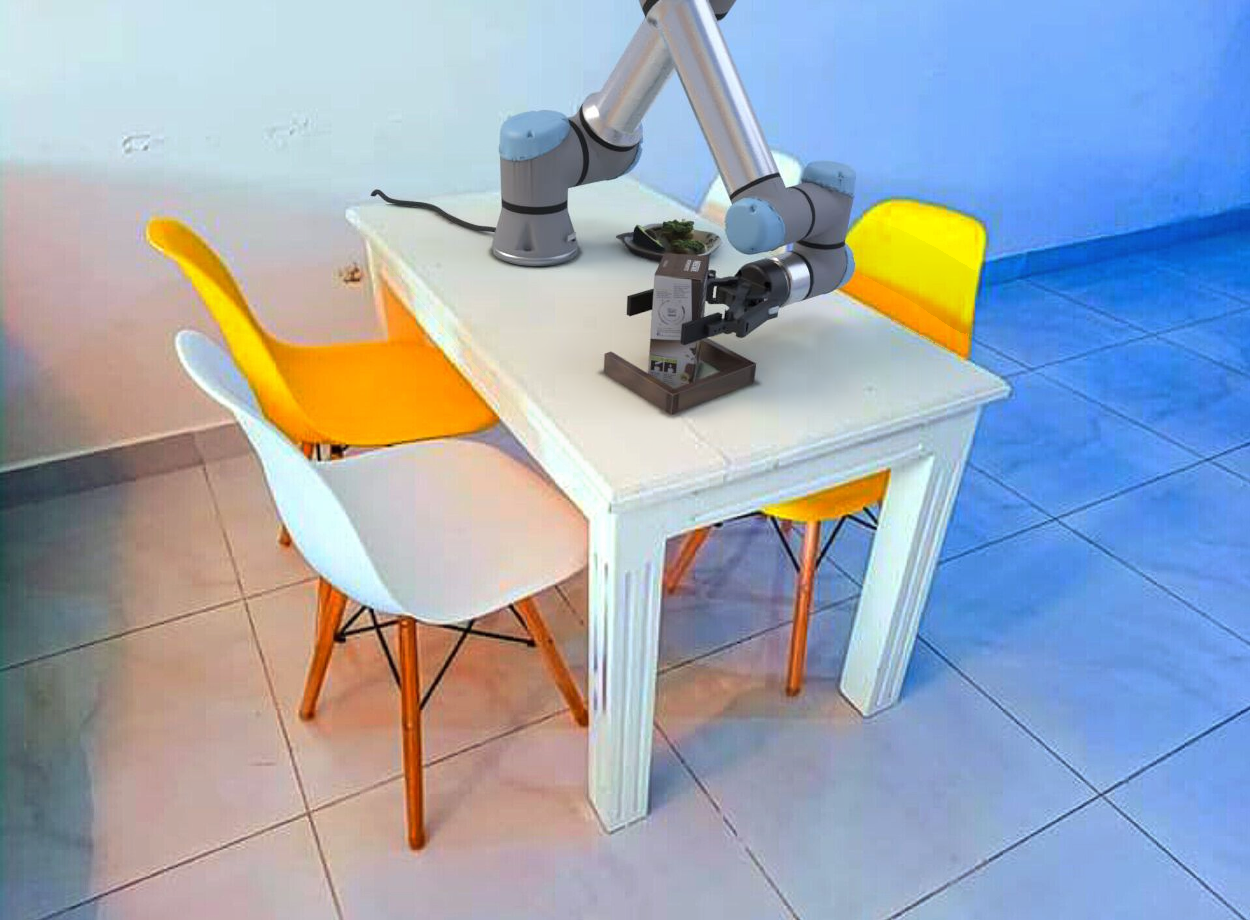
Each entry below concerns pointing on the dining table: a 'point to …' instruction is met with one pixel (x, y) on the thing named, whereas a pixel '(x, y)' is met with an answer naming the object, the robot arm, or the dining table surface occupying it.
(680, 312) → the coffee box
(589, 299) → the dining table surface
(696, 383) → the walnut holder
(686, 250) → the salad plate
